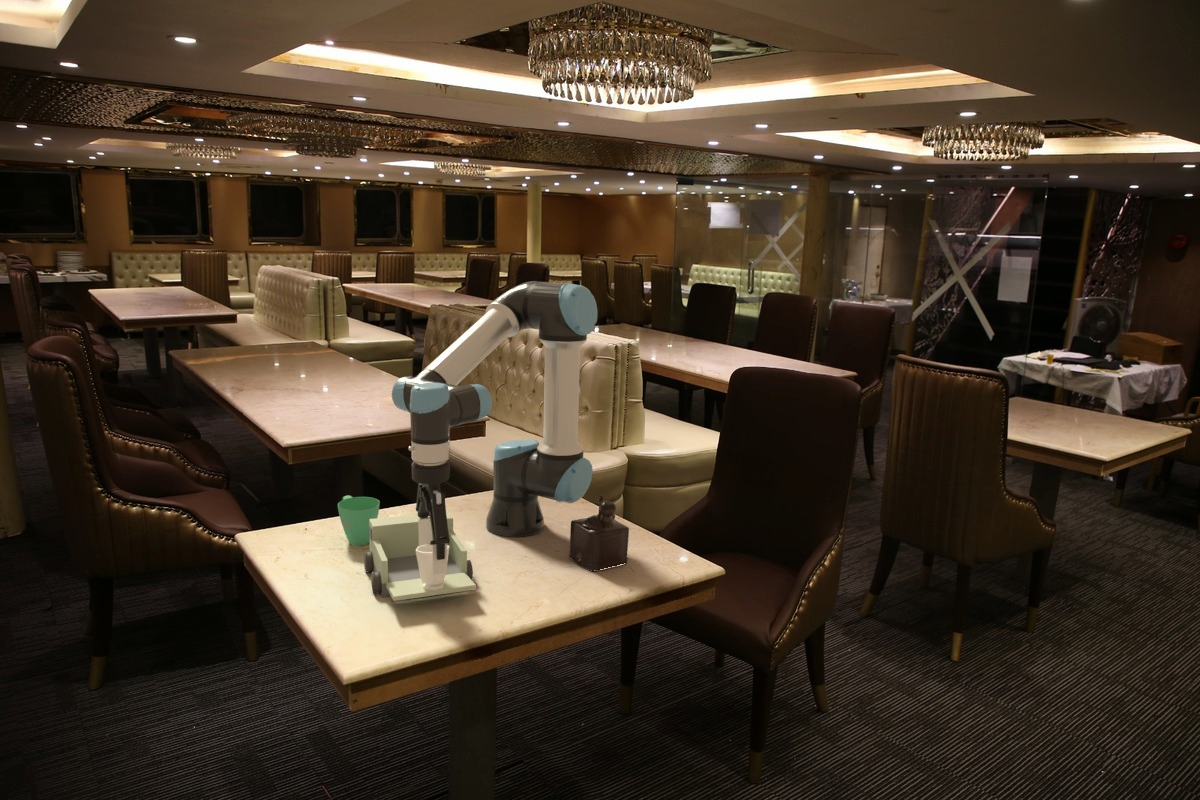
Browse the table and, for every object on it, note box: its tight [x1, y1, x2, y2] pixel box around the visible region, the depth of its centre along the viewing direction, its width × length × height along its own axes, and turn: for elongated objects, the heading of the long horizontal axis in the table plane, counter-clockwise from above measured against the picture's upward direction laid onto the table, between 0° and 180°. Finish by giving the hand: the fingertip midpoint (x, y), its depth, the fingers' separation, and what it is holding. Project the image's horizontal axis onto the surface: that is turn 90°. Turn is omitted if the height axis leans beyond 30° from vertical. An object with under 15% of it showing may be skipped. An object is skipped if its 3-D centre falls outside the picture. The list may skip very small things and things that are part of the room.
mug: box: [337, 495, 381, 547], centre depth 193 cm, size 15×10×10 cm
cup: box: [415, 544, 449, 590], centre depth 161 cm, size 7×10×8 cm
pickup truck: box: [363, 510, 474, 598], centre depth 174 cm, size 21×18×11 cm
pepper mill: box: [568, 494, 630, 572], centre depth 183 cm, size 16×11×18 cm
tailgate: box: [386, 572, 477, 602], centre depth 162 cm, size 17×1×9 cm
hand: (432, 559), depth 161 cm, fingers open, 13 cm apart
